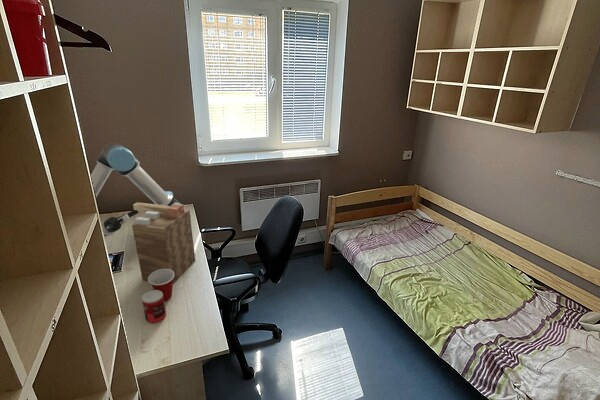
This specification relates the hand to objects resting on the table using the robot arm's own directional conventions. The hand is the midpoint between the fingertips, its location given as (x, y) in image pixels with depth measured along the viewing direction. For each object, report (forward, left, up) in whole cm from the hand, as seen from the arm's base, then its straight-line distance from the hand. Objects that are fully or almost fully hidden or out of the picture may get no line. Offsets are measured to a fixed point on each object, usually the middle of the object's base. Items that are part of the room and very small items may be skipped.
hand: (137, 210), depth 164 cm
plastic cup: (+24, +27, -30) cm, 47 cm away
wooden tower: (+4, +17, -29) cm, 34 cm away
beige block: (-1, +11, +1) cm, 11 cm away
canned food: (+36, +30, -30) cm, 56 cm away
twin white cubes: (+9, +13, +1) cm, 16 cm away
